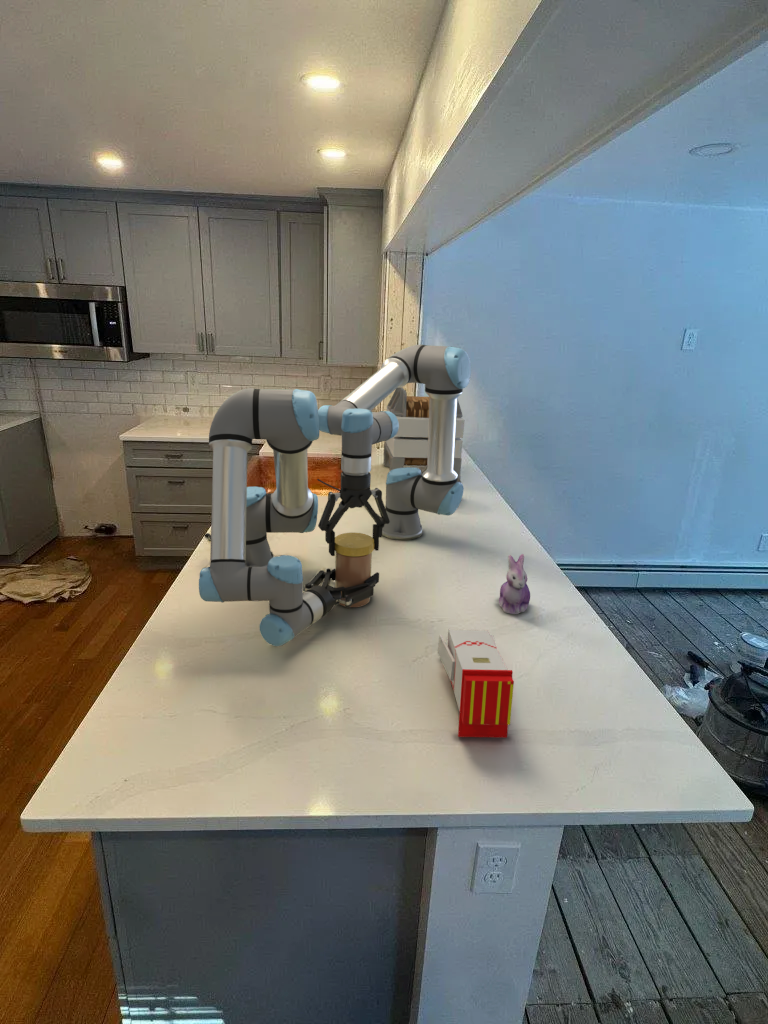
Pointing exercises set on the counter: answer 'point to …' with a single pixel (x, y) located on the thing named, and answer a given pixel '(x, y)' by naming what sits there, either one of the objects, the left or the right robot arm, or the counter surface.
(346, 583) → the jar
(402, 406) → the white wooden crate
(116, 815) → the counter surface
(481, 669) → the toy
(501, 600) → the figurine
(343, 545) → the lid
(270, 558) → the left robot arm
